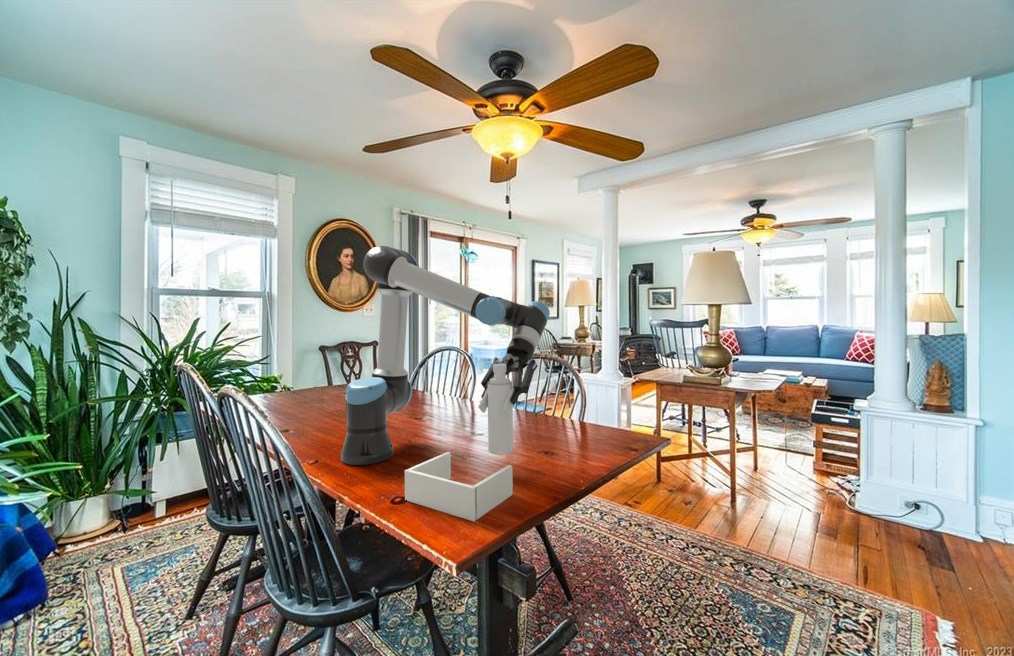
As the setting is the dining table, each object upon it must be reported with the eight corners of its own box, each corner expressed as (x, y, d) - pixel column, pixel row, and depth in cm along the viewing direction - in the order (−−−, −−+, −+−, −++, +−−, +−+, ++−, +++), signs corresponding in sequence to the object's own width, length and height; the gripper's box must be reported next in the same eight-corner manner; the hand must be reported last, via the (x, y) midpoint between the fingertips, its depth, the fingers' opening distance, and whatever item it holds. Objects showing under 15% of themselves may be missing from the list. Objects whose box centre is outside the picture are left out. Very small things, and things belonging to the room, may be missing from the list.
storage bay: (405, 500, 100) (404, 470, 100) (447, 478, 113) (447, 451, 113) (474, 521, 89) (473, 488, 89) (512, 494, 102) (512, 465, 102)
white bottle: (513, 446, 119) (512, 357, 118) (513, 454, 112) (511, 359, 111) (489, 446, 119) (488, 357, 118) (487, 455, 112) (486, 360, 111)
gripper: (557, 354, 122) (530, 423, 109) (500, 352, 133) (469, 415, 120) (549, 337, 118) (520, 407, 104) (490, 336, 128) (456, 399, 115)
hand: (492, 411), depth 112 cm, fingers closed on white bottle, 7 cm apart
